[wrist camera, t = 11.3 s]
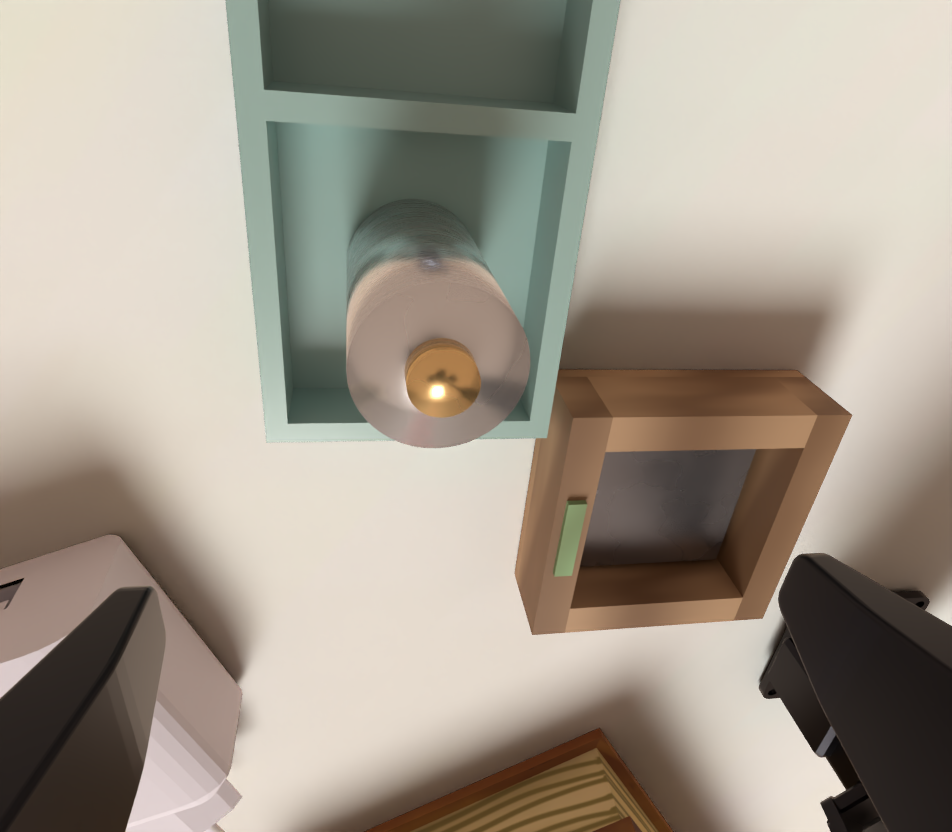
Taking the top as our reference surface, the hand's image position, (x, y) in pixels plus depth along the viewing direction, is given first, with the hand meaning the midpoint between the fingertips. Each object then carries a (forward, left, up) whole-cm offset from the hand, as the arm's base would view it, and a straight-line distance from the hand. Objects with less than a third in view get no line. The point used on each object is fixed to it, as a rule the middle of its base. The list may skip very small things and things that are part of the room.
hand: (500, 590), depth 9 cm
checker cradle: (-9, +7, -12) cm, 16 cm away
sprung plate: (-9, +7, -12) cm, 17 cm away
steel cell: (0, -1, -11) cm, 11 cm away
